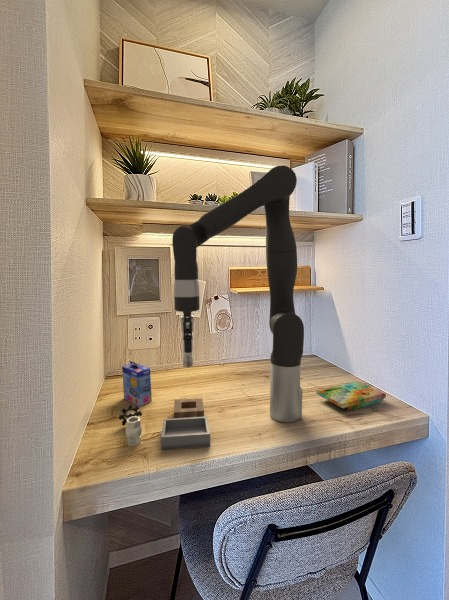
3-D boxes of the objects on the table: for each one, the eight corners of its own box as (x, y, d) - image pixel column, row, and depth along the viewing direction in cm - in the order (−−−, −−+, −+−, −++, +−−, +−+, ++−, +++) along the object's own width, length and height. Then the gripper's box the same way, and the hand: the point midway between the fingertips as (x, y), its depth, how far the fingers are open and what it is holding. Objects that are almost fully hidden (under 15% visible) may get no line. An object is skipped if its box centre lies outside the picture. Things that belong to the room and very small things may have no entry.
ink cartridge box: (122, 399, 110) (120, 359, 108) (135, 394, 114) (134, 356, 113) (138, 406, 104) (137, 365, 102) (152, 401, 108) (151, 361, 106)
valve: (147, 444, 82) (142, 423, 93) (147, 420, 81) (141, 402, 92) (121, 449, 79) (119, 427, 90) (120, 425, 79) (118, 406, 90)
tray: (207, 427, 90) (207, 416, 90) (210, 446, 80) (210, 433, 80) (163, 430, 88) (163, 419, 88) (161, 450, 79) (161, 437, 78)
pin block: (202, 409, 101) (202, 398, 101) (204, 423, 92) (204, 410, 92) (174, 411, 100) (174, 399, 100) (173, 425, 91) (173, 412, 91)
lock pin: (193, 363, 96) (192, 332, 95) (193, 366, 93) (193, 334, 92) (183, 364, 96) (182, 332, 95) (183, 367, 93) (182, 334, 92)
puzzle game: (386, 391, 105) (341, 401, 97) (385, 404, 106) (341, 415, 98) (358, 379, 116) (316, 388, 108) (358, 391, 116) (316, 401, 108)
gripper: (200, 296, 86) (201, 356, 88) (198, 292, 100) (199, 344, 102) (173, 297, 85) (174, 358, 87) (174, 293, 99) (176, 345, 101)
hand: (188, 350), depth 94 cm, fingers closed on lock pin, 3 cm apart
